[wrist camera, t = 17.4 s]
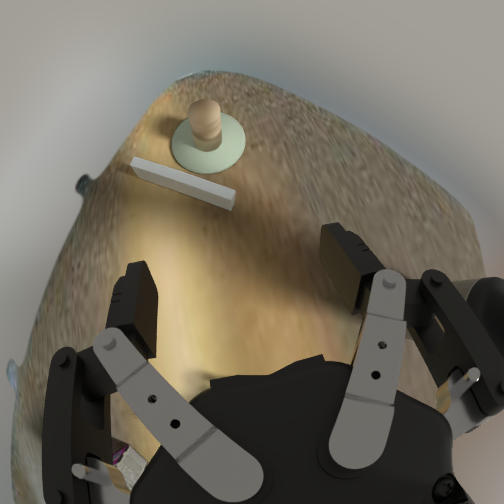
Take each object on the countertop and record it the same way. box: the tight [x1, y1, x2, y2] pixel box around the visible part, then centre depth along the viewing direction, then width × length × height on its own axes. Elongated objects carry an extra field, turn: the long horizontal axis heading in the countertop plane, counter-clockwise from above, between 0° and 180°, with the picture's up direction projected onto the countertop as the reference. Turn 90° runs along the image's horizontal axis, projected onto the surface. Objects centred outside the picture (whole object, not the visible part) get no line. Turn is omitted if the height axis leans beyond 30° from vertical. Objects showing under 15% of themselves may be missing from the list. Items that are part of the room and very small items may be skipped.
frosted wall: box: [130, 156, 236, 211], centre depth 39 cm, size 16×2×5 cm, turn 69°
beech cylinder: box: [188, 99, 222, 152], centre depth 38 cm, size 4×4×8 cm
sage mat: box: [172, 112, 245, 174], centre depth 42 cm, size 12×12×1 cm
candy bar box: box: [113, 445, 148, 490], centre depth 26 cm, size 11×5×16 cm, turn 132°
